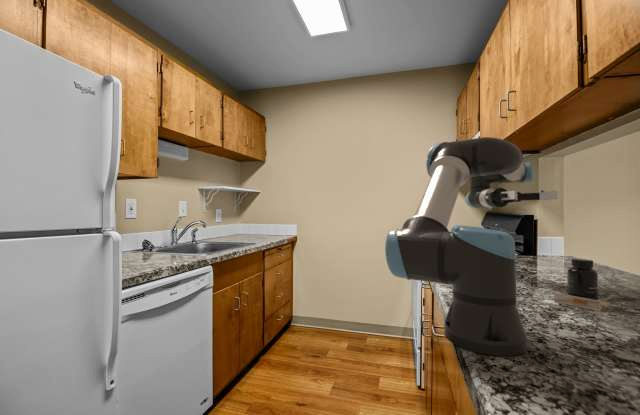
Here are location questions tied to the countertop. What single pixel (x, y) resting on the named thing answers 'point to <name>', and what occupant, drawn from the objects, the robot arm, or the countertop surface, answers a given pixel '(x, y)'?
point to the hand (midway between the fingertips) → (536, 194)
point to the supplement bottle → (582, 279)
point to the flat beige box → (581, 302)
